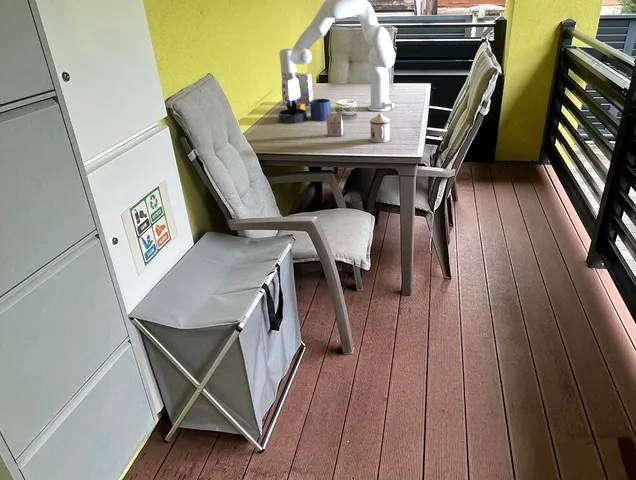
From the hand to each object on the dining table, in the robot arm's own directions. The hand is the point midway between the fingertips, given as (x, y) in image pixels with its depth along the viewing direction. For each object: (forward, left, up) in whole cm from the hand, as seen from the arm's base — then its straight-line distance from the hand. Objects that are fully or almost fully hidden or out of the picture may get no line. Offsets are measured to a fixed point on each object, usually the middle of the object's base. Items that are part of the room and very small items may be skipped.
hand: (292, 113), depth 278 cm
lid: (0, 0, -2) cm, 2 cm away
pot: (-12, -9, -3) cm, 15 cm away
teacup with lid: (-60, +13, -4) cm, 62 cm away
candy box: (+18, -32, -4) cm, 36 cm away
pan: (0, 0, -3) cm, 3 cm away
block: (+6, -15, -3) cm, 16 cm away
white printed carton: (-36, +14, -4) cm, 39 cm away
